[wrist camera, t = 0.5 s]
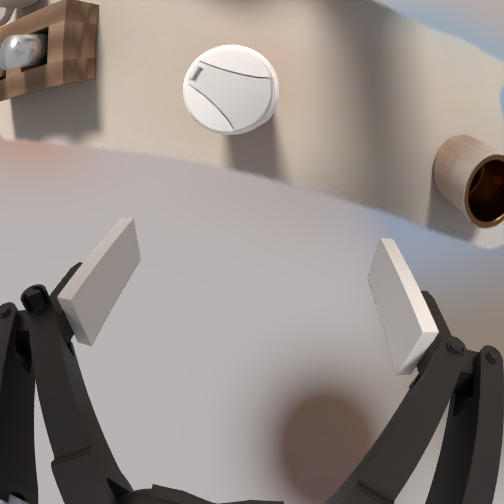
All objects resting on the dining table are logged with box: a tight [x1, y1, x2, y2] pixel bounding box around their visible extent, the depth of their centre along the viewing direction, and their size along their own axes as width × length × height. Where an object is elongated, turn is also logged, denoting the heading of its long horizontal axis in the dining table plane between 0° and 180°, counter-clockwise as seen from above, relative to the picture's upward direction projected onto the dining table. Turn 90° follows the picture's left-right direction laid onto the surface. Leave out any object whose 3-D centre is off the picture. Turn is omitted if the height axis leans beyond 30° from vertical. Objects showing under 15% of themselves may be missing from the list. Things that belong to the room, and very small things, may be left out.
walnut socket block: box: [0, 0, 99, 101], centre depth 28 cm, size 12×20×8 cm, turn 86°
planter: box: [434, 135, 504, 229], centre depth 33 cm, size 11×11×10 cm
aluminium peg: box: [0, 34, 48, 70], centre depth 23 cm, size 4×4×8 cm
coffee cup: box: [183, 45, 279, 135], centre depth 28 cm, size 8×8×15 cm
